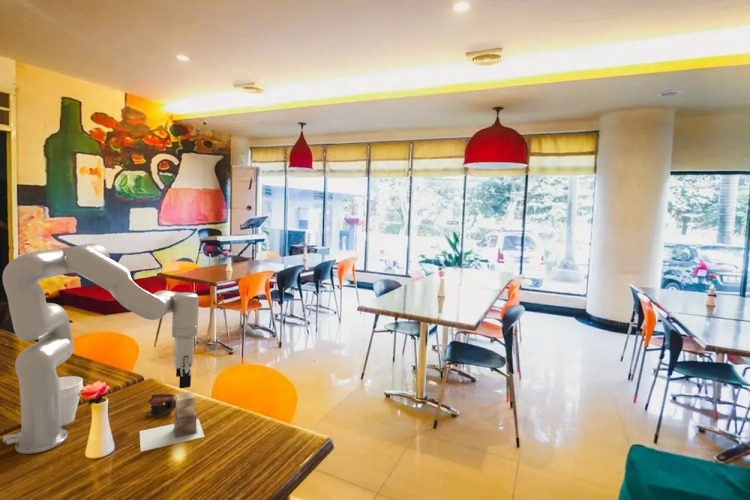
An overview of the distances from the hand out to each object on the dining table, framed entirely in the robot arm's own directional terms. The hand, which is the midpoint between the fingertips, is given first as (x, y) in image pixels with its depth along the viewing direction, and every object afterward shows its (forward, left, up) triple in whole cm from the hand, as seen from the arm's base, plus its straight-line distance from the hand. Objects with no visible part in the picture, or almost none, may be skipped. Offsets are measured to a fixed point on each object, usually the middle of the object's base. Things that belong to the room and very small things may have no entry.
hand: (183, 381), depth 132 cm
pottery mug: (-5, +18, -18) cm, 26 cm away
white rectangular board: (-3, 0, -18) cm, 18 cm away
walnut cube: (+1, 0, -17) cm, 17 cm away
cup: (-35, +26, -18) cm, 47 cm away
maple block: (+1, 0, -11) cm, 11 cm away
